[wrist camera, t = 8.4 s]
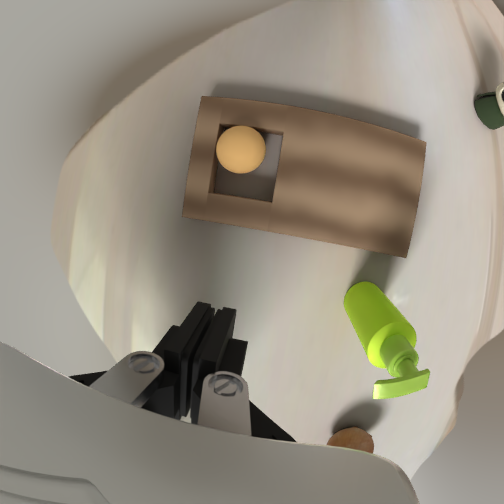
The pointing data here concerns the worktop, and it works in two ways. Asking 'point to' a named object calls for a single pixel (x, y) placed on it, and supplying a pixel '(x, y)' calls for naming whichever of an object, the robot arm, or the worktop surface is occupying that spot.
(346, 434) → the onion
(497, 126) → the character mug
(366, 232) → the board
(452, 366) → the worktop surface
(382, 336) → the soap dispenser
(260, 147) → the ball
